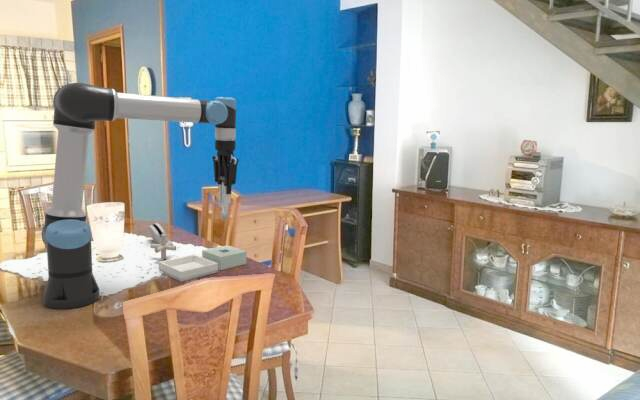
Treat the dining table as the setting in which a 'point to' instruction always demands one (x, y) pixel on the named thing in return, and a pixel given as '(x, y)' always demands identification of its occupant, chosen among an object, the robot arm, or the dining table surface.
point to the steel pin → (224, 205)
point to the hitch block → (225, 256)
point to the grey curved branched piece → (157, 233)
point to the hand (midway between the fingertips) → (224, 201)
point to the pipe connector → (163, 246)
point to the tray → (188, 267)
